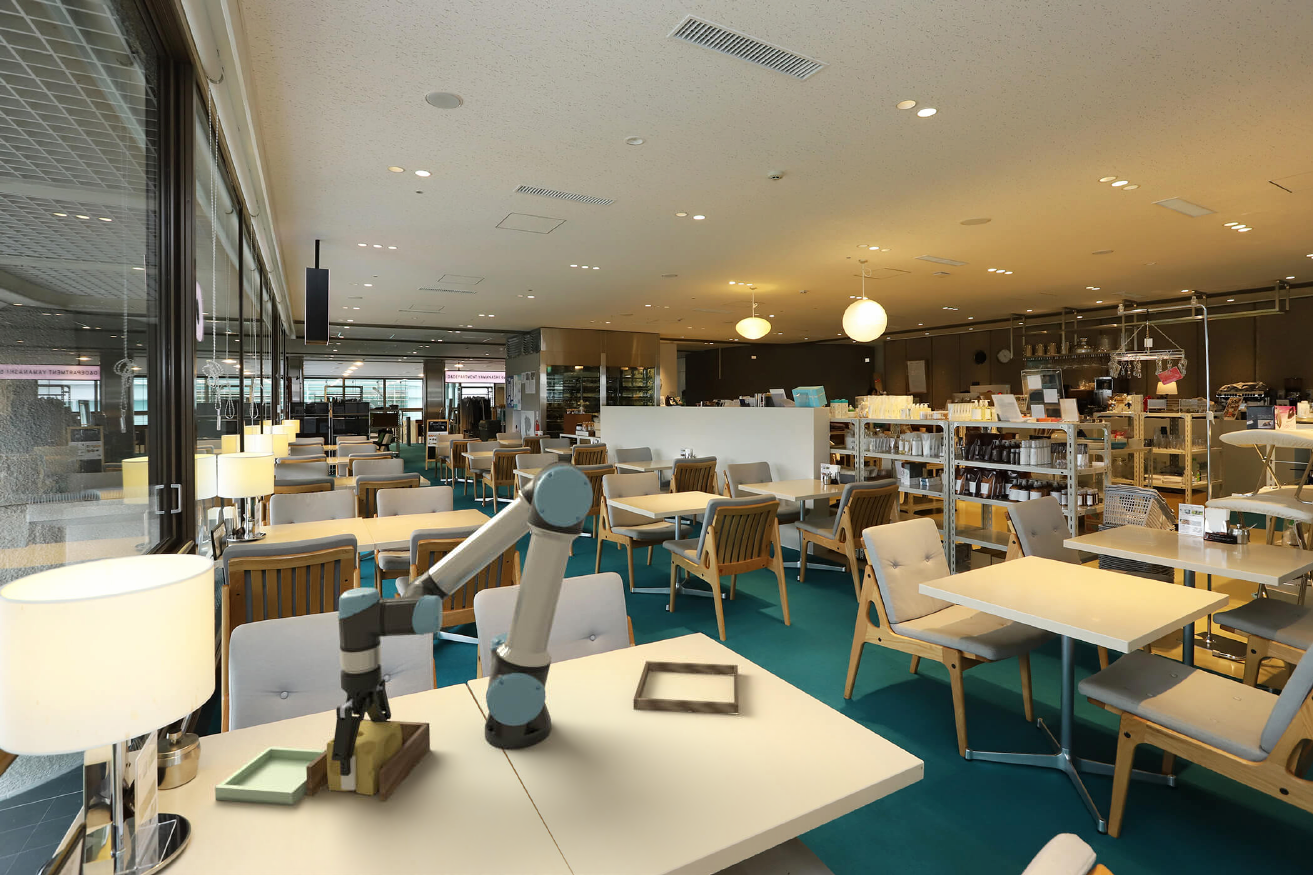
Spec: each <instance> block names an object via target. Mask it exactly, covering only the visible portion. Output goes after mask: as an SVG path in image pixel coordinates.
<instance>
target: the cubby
mask: <svg viewBox="0 0 1313 875" xmlns="http://www.w3.org/2000/svg"><path fill="white" fill-rule="evenodd" d="M363 721H371V719H365V718H364V719H363ZM389 721H390V722H400V725H401V732H402V748H401V749H400V750H399V751H398V752H397V753H396V754H395V755H394V756H393V757H392V758H391V759H390V760H389V761H388V762H387V764H386V765H385V766H384V767H383V768H382V769H381V770H380V771H379V786H380V788H379V802H384V803H385V802H386V801H387V800H388V799H389V798H390V796H391V795H392V794H393V793H394V792H395V791H396V789H398V788H399V787H400V785H401V783H403V782H404V780H405V779H406V778H407V777H408V775H409V774H410V773H412V771H413V770H414V769H415V767H417V765H418V764H419V763H420V762H421V760H422V759H423V758H424V757H425V756H426V755H427V754H428V752H429V751H430V750H431V738H430V737H431V736H430V734H431V732H430V722H418V721H417V722H416V721H402V720H401V721H400V720H389ZM324 750H325V751H324V752H323V753H321V754H320V755H319V756H318V757H317V758H316V759H314V760H313V761H312V762H311V763H310V764H309V765H308V766H306V771H307V792H306V794H307V797H313V796H315V795H316V794H317V793H318V792H319V791H320V790H321V789H322V788H323V787H324V786H325V785H326V784H327V783H328V775H327V748H326V749H324Z"/></svg>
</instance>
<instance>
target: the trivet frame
mask: <svg viewBox="0 0 1313 875" xmlns="http://www.w3.org/2000/svg"><path fill="white" fill-rule="evenodd" d="M650 672H657V673H658V672H659V673H660V672H661V673H679V674H698V673H706V674H705V675H720V674H734V675H733V692H734V693H733V695H734V697H733V698H734V699H733V700H734V702H729V701H728V702H727V701H710V700H709V701H708V700H705V701H704V700H690V699H689V700H688V699H687V700H686V699H673V698H671V699H670V698H650V697H648V698H647V697H642V696H643V693H644V689H645V686H646V683H647V679H648V676H649V673H650ZM708 673H709V674H708ZM712 673H713V674H712ZM632 700H633V703H632V704H633V710H641V711H643V710H644V711H646V710H647V711H660V712H661V711H664V712H678V711H687V712H686V713H689V712H688V711H691V712H690V713H697V712H702V714H717V713H738V714H739V708H740V707H739V667H738V664H723V663H722V664H718V663H699V662H698V663H695V662H694V663H693V662H677V661H675V662H672V661H656V660H655V661H650V660H645V664H644V667H643V669H642V672H641V676H640V678H639V682H638V684H637V688H636V691H635V694H634V696H633V699H632ZM703 712H704V713H703Z"/></svg>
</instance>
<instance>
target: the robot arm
mask: <svg viewBox="0 0 1313 875" xmlns="http://www.w3.org/2000/svg"><path fill="white" fill-rule="evenodd" d="M593 497H594V493H593V487H592V484H591V482H590V480H589V478H588V477H587V475H586V474H585V473H584V472H583V471H582V470H581V469H580V468H579V466H577V465H575V464H574V463H572V462H568V461H565V460H564V461H562V460H559V461H553V462H551V463H549V464H547V465H545V466H544V467H543V468H541V470H539V471H538V472H537V473H536V475H534V477H533V478H531V480H530V481H529V482H527V484H526V485H524V486H523V487H522V488H520V489H519V491H518V495H517V498H515V499H514V500H513V501H512V502H510V503H509V504H508V505H507V506H505V507H504V508H503V509H501V510H500V511H499V512H498V513H496V515H494V516H493V517H492V518H490V519H489V520H488V521H487V522H486V523H484V524H483V525H482V526H481V527H480V528H478V529H477V530H476V531H474V532H473V533H472V534H471V535H470V536H468V537H467V538H466V539H464V541H462V542H461V543H460V544H459V545H457V546H456V547H454V549H453V550H451V551H450V552H449V553H448V554H446V555H445V556H444V557H442V558H441V559H440V560H439V561H437V563H435V564H434V565H432V566H431V567H430V568H429V569H428V570H427V571H425V572H423V574H422V575H420V576H418V577H415V578H414V579H413V580H412V581H411V582H409V584H408V585H407V587H406V588H405V591H404V592H403V594H402V596H401V597H391V598H390V597H387V598H384V597H383V598H382V597H381V595H380V592H379V590H378V589H377V588H375V587H369V586H368V587H367V586H366V587H357V588H352V589H348V590H346V591H343V593H342V594H341V595H340V596H339V598H338V615H337V619H338V632H339V656H340V669H341V671H340V687H341V689H342V690H343V691H344V692H345V693H346V699H345V703H344V704H343V705H337V707H336V710H335V711H336V713H335V714H336V724H335V728H334V729H335V730H334V737H333V738H334V744H333V752H332V760H333V761H340V774H341V789H344V790H351V791H355V790H356V788H357V786H356V756H353V752H354V747H355V743H356V739H357V735H358V731H359V727H360V722H361V721H363V719H365V715H366V713H367V715H368V717H369V720H371V721H373V722H390V721H391V718H392V712H391V707H390V702H389V699H388V694H387V691H386V690H387V689H386V679H385V678H383V676H382V674H383V673H382V664H381V663H382V646H381V638H382V637H383V638H384V637H385V638H386V637H397V636H398V637H399V636H402V637H403V636H415V635H417V636H418V635H419V636H424V635H426V634H434V633H437V632H439V631H440V630H441V628H442V626H443V625H442V624H443V602H445V600H447V599H448V598H449V597H450V596H451V595H453V593H455V592H456V591H457V590H458V589H460V588H461V587H462V586H463V585H465V584H466V583H467V582H469V581H470V580H471V579H472V578H473V577H474V576H476V575H477V574H478V573H479V572H481V571H482V570H483V569H484V568H485V567H487V566H488V565H489V564H491V563H492V562H493V561H495V559H497V558H498V557H499V556H500V555H502V554H503V553H504V552H505V551H507V549H509V548H510V547H511V546H512V545H514V544H515V543H516V542H517V541H519V540H520V539H521V538H522V537H523V536H525V535H526V534H527V533H529V531H531V536H530V540H529V545H528V549H527V554H526V557H525V561H524V566H523V570H522V573H521V578H520V581H519V582H520V583H519V586H518V590H517V596H516V600H515V603H514V608H513V612H512V617H511V619H510V620H511V621H510V625H509V629H508V632H505V633H500V634H497V635H495V636H494V637H493V638H492V639H491V642H490V648H489V649H490V656H491V657H490V660H491V661H490V672H489V679H488V685H487V690H486V694H485V701H486V702H485V703H486V704H487V706H486V707H487V710H488V714H487V717H486V719H485V722H484V739H485V740H486V742H488V744H490V745H492V746H494V747H497V748H500V749H501V748H502V749H521V748H526V747H530V746H534V745H536V744H539V743H540V742H542V741H544V740H545V739H546V738H547V737H548V736H549V735H550V733H551V731H552V718H551V715H550V712H549V709H548V706H547V703H546V699H547V697H546V684H547V680H548V676H549V671H550V669H551V668H550V667H551V664H552V655H551V654H550V652H549V651H548V645H549V641H550V637H551V636H550V635H551V633H552V632H551V631H552V628H553V624H554V620H555V615H556V611H557V606H558V603H559V599H560V595H561V590H562V587H563V586H562V585H563V581H564V577H565V573H566V568H567V564H568V561H569V557H570V552H571V548H572V544H573V542H574V540H575V539H577V538H578V537H579V536H581V535H582V532H583V529H584V523H585V521H586V516H587V515H588V513H589V511H590V509H591V507H592V505H593Z"/></svg>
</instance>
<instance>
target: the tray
mask: <svg viewBox="0 0 1313 875" xmlns="http://www.w3.org/2000/svg"><path fill="white" fill-rule="evenodd" d="M325 750H326V749H318V748H315V749H313V748H299V747H284V746H268V747H266V748H265V749H264V750H262V752H260V753H259V754H257V755H256V756H255V757H253V758H252V759H250V760H249V761H248V762H246V763H245V764H244V765H242V766H241V767H240V768H239V769H238V770H236V771H235V772H234V773H232V774H230V775H229V776H228V777H226V778H225V779H224V780H223V781H221V782H219V783H218V784H217V785H216V786H215V787H214V792H215V794H214V795H215V796H214V797H215V801H228V802H229V801H231V802H240V803H241V802H243V803H256V804H266V805H267V804H269V805H281V806H283V805H285V806H293V805H294V804H296V803H297V802H298V801H299V800H300V799H301V798H302V797H303V796H304V795H306V794H307V771H306V766H308V765H309V764H310V763H311V762H312V761H313V760H314V759H316V758H317V757H318V756H319V755H320V754H321V753H323V752H324V751H325Z"/></svg>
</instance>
